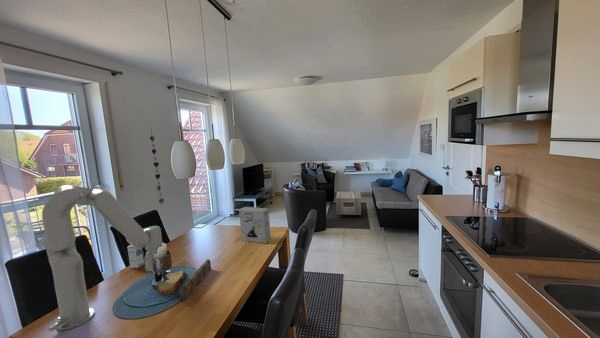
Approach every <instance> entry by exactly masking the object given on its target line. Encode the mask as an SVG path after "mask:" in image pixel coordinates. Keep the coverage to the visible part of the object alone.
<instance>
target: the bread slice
mask: <svg viewBox="0 0 600 338" xmlns="http://www.w3.org/2000/svg"><path fill="white" fill-rule="evenodd" d="M166 275H167V276H168V277H169V280H166V281H164V282H162V283H161V281H160V282H158V289H157V290H158V291H157V292H158V293H159V294H160V295H163V296H167V295H171V294H173V292H175V291H176V290H177V289H178V288H179V286H180V284H182V282H183V280H184V278H185V276H186V271H185V270H180V271H172V272H168V273H167V274H166Z"/></svg>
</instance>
